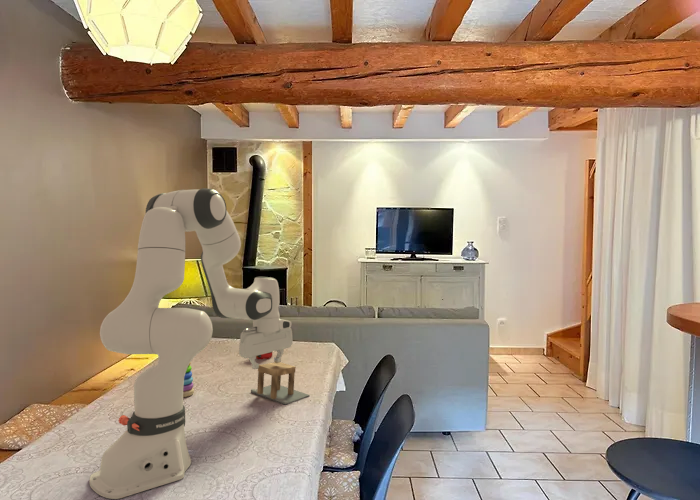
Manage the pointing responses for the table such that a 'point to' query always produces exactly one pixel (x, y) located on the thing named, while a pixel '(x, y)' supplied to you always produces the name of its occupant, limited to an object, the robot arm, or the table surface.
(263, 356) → the canned food
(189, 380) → the stacking toy
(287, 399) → the mat
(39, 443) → the table surface
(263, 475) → the table surface
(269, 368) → the stool
